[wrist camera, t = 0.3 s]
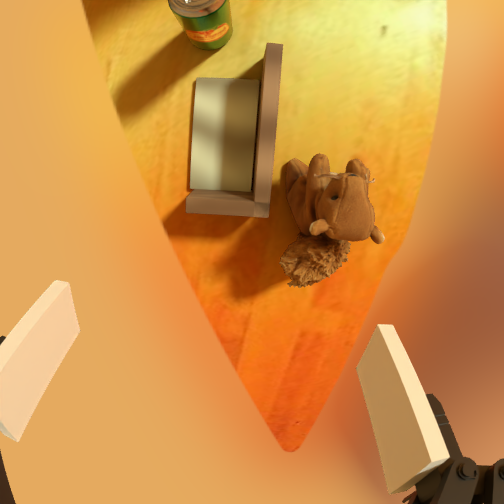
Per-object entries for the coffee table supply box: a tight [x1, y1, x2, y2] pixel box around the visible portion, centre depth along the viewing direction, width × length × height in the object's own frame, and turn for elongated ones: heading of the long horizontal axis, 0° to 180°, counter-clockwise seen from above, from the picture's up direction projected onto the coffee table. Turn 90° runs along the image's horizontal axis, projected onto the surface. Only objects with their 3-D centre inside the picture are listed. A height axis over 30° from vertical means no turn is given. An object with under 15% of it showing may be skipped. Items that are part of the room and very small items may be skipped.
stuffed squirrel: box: [279, 153, 384, 288], centre depth 30 cm, size 10×14×13 cm
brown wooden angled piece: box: [186, 43, 283, 218], centre depth 30 cm, size 18×9×6 cm, turn 176°
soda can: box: [168, 0, 233, 50], centre depth 23 cm, size 5×5×12 cm
